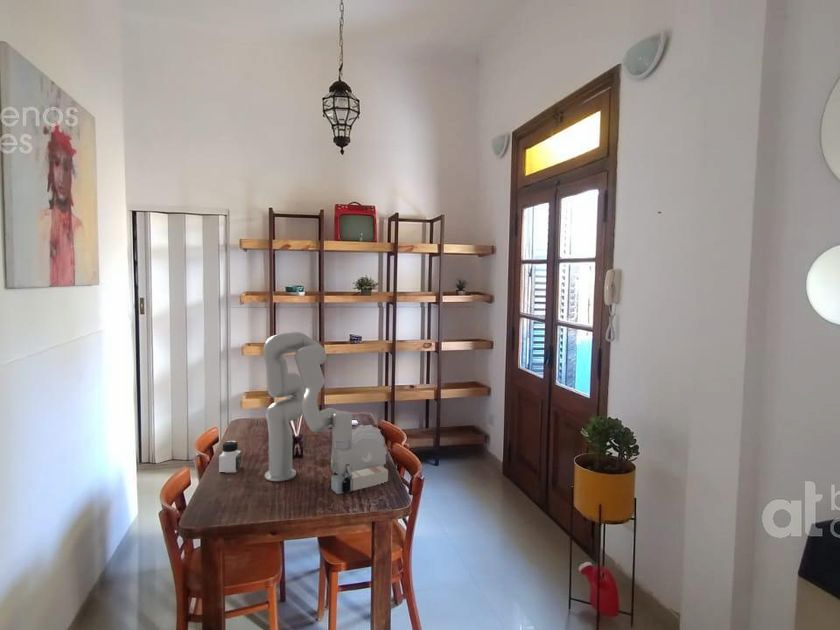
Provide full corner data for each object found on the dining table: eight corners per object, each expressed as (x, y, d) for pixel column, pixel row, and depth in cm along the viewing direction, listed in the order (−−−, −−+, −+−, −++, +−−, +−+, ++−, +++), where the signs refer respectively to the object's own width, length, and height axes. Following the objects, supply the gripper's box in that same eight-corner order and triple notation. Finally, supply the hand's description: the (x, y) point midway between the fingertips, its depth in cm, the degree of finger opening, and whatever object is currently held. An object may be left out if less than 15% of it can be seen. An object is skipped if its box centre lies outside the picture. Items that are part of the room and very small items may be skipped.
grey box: (331, 488, 194) (331, 475, 194) (345, 485, 197) (345, 472, 197) (337, 494, 189) (337, 481, 189) (351, 490, 192) (352, 477, 192)
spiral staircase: (373, 466, 230) (377, 485, 205) (338, 451, 227) (338, 468, 202) (390, 430, 231) (396, 445, 206) (356, 415, 228) (358, 428, 203)
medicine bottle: (236, 472, 208) (235, 444, 208) (218, 472, 208) (218, 444, 207) (241, 466, 216) (241, 439, 215) (224, 466, 215) (224, 439, 214)
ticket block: (345, 485, 197) (346, 472, 197) (380, 477, 206) (380, 465, 206) (352, 490, 193) (352, 478, 192) (387, 482, 201) (388, 469, 201)
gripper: (324, 439, 197) (323, 482, 198) (342, 451, 183) (342, 498, 184) (341, 436, 201) (341, 478, 202) (360, 448, 187) (360, 493, 188)
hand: (341, 487), depth 193 cm, fingers open, 7 cm apart
